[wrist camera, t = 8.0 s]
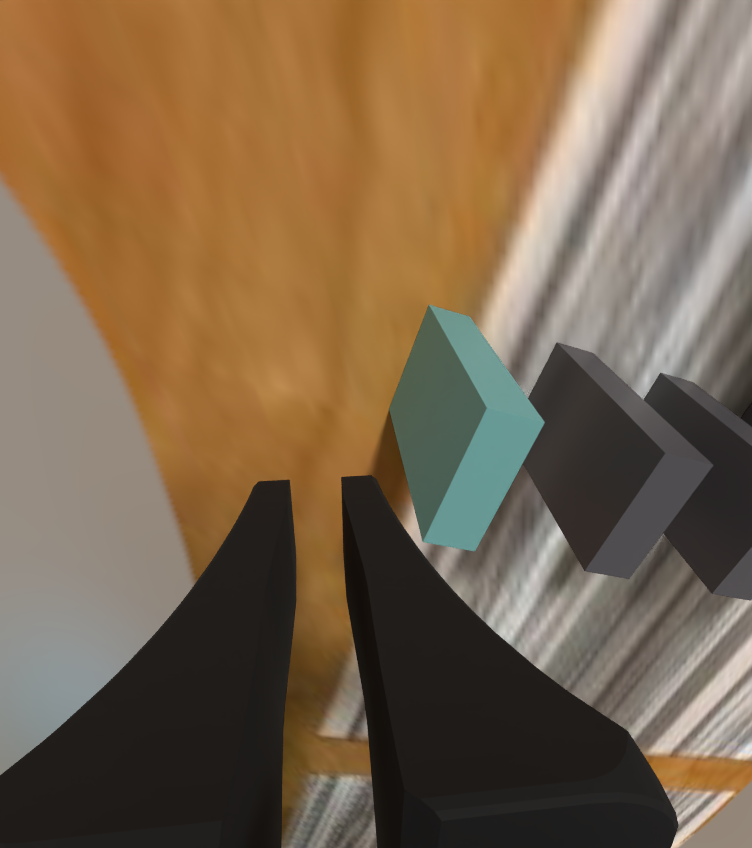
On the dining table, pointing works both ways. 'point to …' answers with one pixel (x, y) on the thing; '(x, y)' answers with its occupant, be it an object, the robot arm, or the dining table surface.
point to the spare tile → (459, 429)
